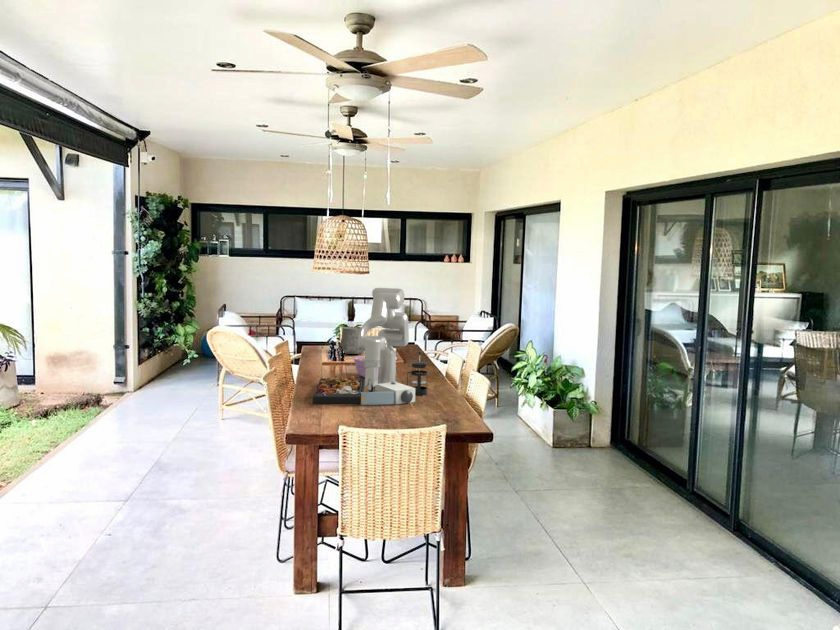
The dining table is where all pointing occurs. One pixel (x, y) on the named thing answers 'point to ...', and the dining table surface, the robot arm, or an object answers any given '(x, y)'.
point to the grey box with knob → (398, 391)
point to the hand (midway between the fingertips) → (371, 399)
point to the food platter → (339, 391)
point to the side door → (378, 398)
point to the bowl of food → (361, 365)
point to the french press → (419, 377)
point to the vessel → (351, 340)
